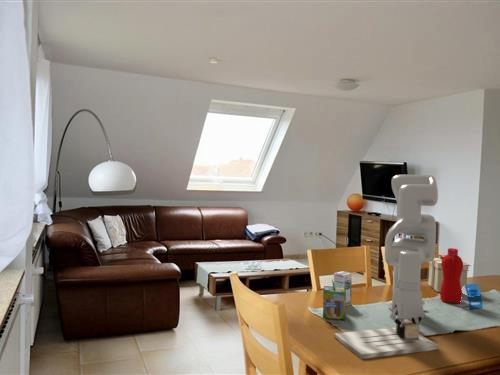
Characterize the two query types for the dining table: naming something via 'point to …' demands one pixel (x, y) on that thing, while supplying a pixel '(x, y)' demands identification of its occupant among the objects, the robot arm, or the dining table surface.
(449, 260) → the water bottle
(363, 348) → the board
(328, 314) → the chalk box
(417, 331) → the block
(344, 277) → the syrup box
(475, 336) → the dining table surface
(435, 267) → the gift box
